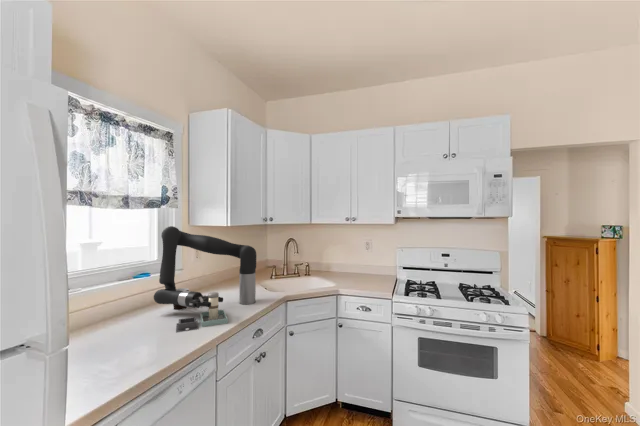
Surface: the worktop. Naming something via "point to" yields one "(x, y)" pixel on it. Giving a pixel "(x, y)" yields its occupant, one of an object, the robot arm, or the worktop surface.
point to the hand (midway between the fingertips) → (216, 302)
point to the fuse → (213, 306)
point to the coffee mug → (179, 307)
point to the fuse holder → (187, 324)
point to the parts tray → (214, 322)
